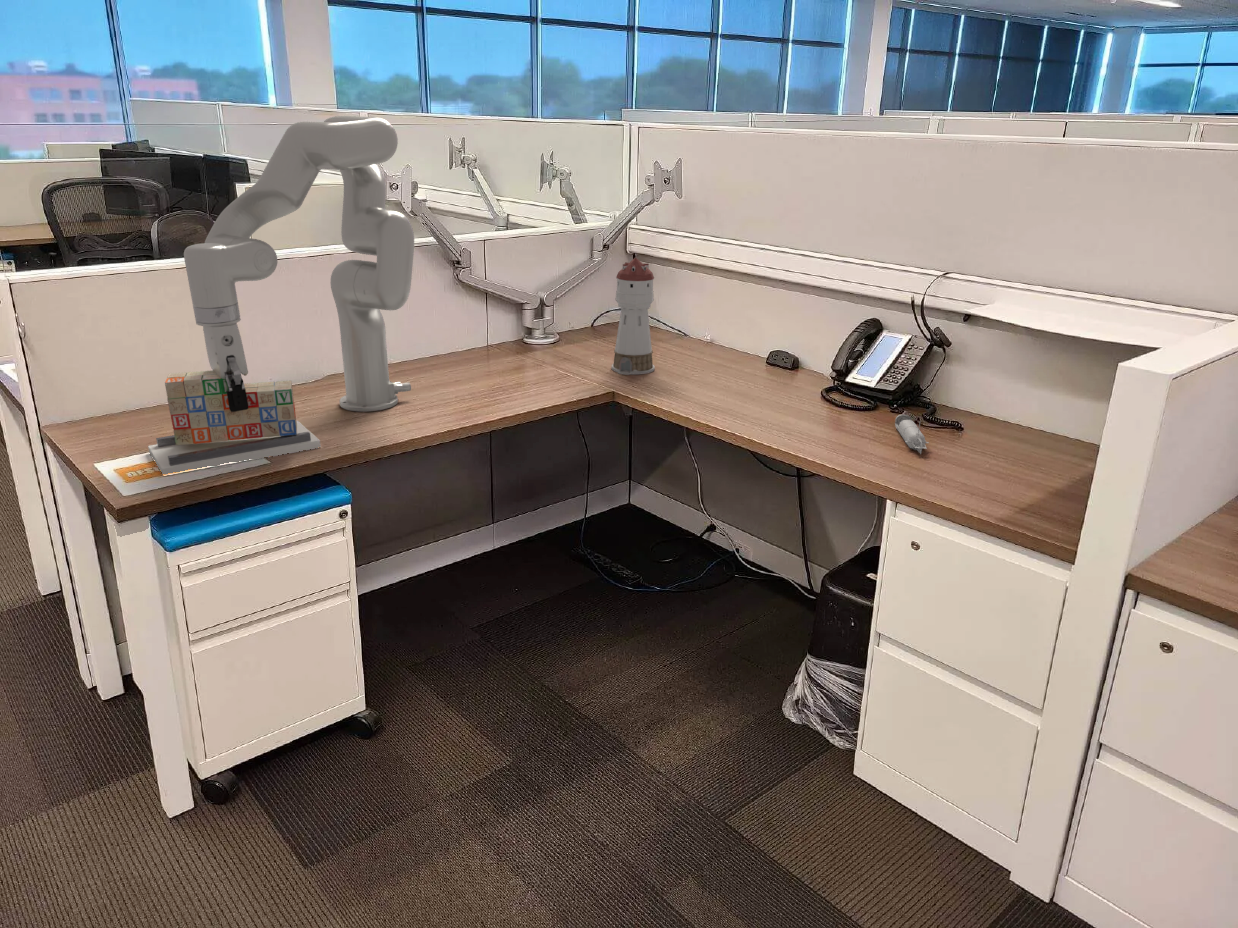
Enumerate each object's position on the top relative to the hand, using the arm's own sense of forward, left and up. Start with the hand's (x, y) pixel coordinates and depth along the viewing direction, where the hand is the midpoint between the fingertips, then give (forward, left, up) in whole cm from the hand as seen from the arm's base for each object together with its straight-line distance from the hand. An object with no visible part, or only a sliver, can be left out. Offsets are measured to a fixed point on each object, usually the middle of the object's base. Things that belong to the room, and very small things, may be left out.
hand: (232, 403), depth 169 cm
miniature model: (-99, -8, -10) cm, 100 cm away
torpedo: (-116, +67, -10) cm, 134 cm away
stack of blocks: (0, +1, -7) cm, 7 cm away
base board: (+1, 0, -9) cm, 9 cm away
